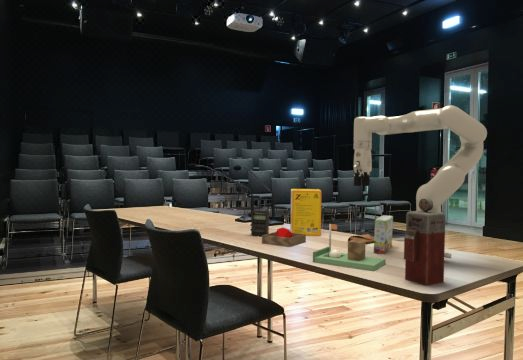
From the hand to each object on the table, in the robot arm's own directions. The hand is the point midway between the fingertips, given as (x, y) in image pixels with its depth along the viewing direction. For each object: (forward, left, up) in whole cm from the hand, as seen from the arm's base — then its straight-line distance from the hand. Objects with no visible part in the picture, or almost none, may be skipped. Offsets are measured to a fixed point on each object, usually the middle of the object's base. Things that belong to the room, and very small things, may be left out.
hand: (361, 185), depth 184 cm
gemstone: (+41, -4, -31) cm, 52 cm away
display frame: (+42, -6, -30) cm, 52 cm away
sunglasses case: (+9, -31, -31) cm, 45 cm away
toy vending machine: (-32, +28, -31) cm, 52 cm away
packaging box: (+47, -38, -31) cm, 68 cm away
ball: (+4, +18, -28) cm, 33 cm away
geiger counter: (+63, -15, -31) cm, 72 cm away
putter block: (-5, +17, -28) cm, 33 cm away
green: (-2, +17, -30) cm, 35 cm away
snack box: (-4, -19, -31) cm, 36 cm away
